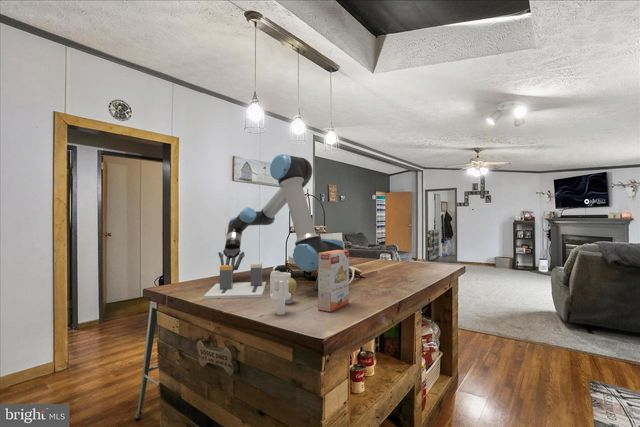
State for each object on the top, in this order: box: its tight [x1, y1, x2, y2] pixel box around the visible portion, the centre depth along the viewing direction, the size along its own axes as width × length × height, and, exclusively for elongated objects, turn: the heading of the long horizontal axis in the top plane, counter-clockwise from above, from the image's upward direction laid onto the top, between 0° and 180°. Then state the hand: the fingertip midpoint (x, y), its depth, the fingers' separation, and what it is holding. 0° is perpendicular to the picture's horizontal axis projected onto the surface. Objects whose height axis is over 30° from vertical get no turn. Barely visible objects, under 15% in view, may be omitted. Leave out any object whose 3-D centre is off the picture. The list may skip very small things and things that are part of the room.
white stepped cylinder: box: [269, 271, 292, 316], centre depth 116 cm, size 7×7×15 cm
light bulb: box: [285, 277, 297, 305], centre depth 130 cm, size 6×6×10 cm
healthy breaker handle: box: [250, 262, 263, 286], centre depth 157 cm, size 4×5×10 cm
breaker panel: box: [202, 281, 267, 300], centre depth 151 cm, size 26×24×1 cm
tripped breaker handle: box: [219, 264, 234, 289], centre depth 151 cm, size 4×5×10 cm
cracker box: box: [317, 249, 350, 313], centre depth 124 cm, size 14×6×21 cm, turn 148°
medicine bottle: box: [269, 265, 288, 296], centre depth 146 cm, size 7×7×12 cm
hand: (227, 281), depth 155 cm, fingers closed
